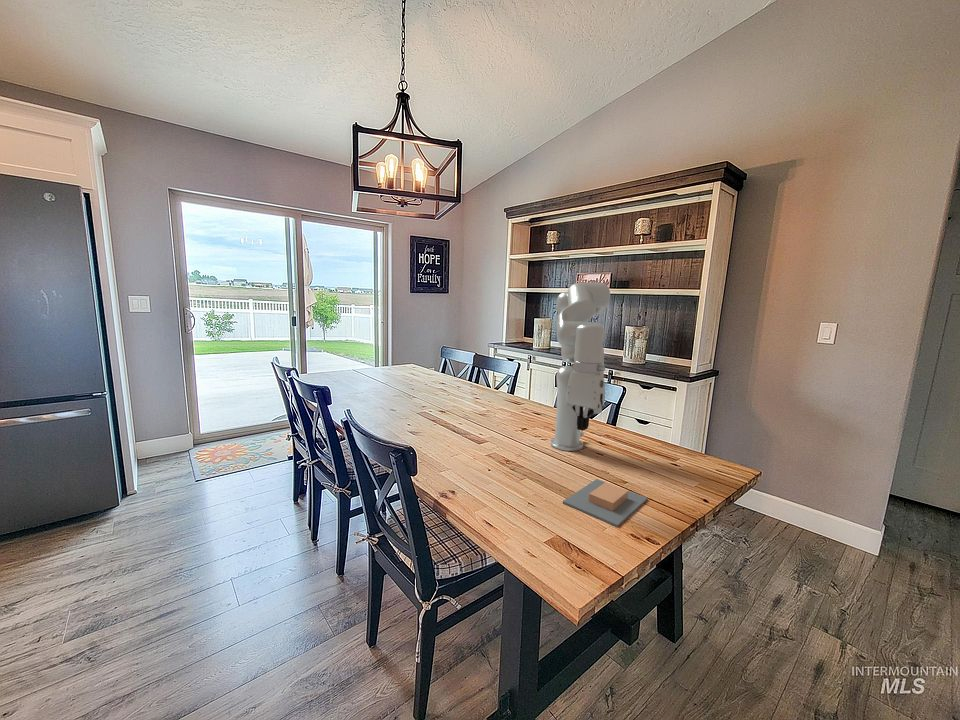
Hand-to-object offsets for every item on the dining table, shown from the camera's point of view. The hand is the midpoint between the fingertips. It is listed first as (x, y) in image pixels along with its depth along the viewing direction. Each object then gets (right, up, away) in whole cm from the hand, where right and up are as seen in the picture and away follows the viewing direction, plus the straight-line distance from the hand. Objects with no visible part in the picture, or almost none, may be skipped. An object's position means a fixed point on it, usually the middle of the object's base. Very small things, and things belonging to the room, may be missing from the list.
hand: (582, 429), depth 115 cm
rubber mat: (+6, -20, -3) cm, 21 cm away
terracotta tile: (+4, -18, -1) cm, 18 cm away
